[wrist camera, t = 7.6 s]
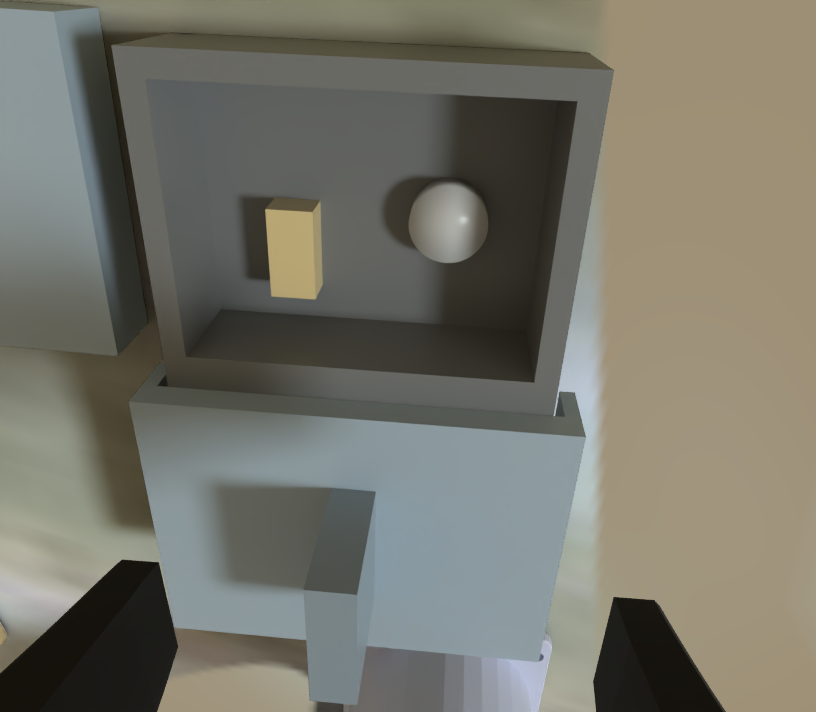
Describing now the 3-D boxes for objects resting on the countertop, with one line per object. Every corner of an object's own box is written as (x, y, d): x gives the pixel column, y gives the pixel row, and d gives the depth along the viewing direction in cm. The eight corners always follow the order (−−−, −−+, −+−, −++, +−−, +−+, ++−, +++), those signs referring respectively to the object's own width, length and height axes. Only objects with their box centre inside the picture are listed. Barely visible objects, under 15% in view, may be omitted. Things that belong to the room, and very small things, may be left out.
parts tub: (511, 546, 24) (516, 622, 21) (233, 522, 24) (202, 593, 22) (589, 52, 16) (614, 69, 13) (172, 32, 16) (111, 45, 14)
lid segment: (159, 361, 19) (56, 492, 14) (574, 392, 18) (611, 539, 13) (196, 578, 23) (126, 733, 18) (533, 608, 22) (550, 777, 18)
